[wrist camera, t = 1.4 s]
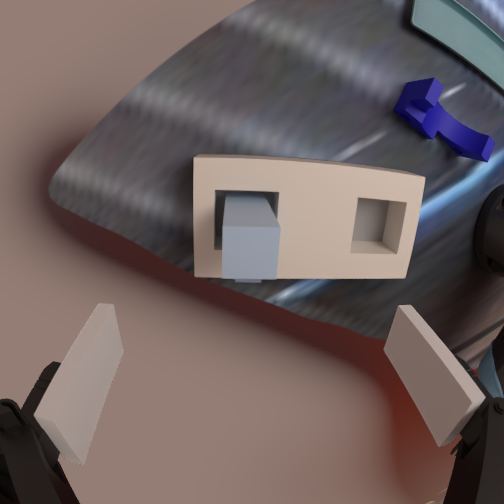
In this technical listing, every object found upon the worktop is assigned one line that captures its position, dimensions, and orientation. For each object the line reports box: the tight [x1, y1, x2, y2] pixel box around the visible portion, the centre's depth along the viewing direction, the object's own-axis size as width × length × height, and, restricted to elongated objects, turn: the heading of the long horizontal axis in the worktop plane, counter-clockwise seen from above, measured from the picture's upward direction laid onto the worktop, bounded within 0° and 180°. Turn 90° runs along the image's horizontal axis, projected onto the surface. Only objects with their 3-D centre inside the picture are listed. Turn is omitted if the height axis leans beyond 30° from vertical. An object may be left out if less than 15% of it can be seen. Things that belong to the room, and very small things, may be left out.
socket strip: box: [193, 154, 425, 279], centre depth 32 cm, size 24×12×5 cm, turn 87°
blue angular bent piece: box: [393, 78, 495, 162], centre depth 28 cm, size 12×4×6 cm, turn 62°
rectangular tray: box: [410, 0, 504, 92], centre depth 25 cm, size 26×9×2 cm, turn 76°
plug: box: [222, 192, 281, 282], centre depth 28 cm, size 4×5×12 cm
